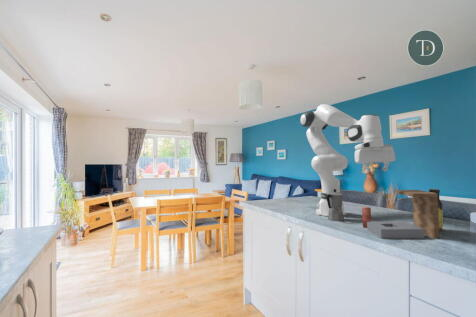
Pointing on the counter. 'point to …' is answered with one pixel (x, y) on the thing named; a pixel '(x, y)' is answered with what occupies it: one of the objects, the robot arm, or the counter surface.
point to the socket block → (395, 229)
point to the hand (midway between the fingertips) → (376, 171)
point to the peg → (366, 216)
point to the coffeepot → (335, 206)
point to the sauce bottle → (439, 208)
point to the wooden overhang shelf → (424, 210)
